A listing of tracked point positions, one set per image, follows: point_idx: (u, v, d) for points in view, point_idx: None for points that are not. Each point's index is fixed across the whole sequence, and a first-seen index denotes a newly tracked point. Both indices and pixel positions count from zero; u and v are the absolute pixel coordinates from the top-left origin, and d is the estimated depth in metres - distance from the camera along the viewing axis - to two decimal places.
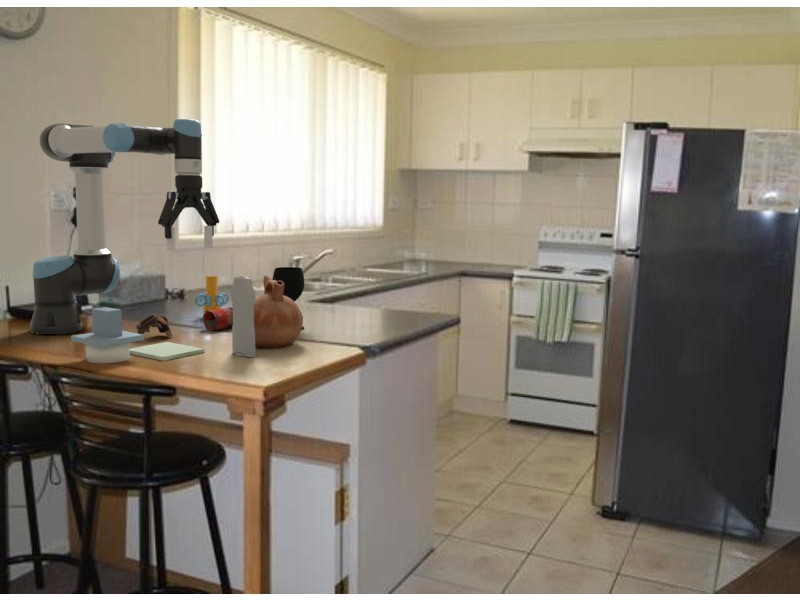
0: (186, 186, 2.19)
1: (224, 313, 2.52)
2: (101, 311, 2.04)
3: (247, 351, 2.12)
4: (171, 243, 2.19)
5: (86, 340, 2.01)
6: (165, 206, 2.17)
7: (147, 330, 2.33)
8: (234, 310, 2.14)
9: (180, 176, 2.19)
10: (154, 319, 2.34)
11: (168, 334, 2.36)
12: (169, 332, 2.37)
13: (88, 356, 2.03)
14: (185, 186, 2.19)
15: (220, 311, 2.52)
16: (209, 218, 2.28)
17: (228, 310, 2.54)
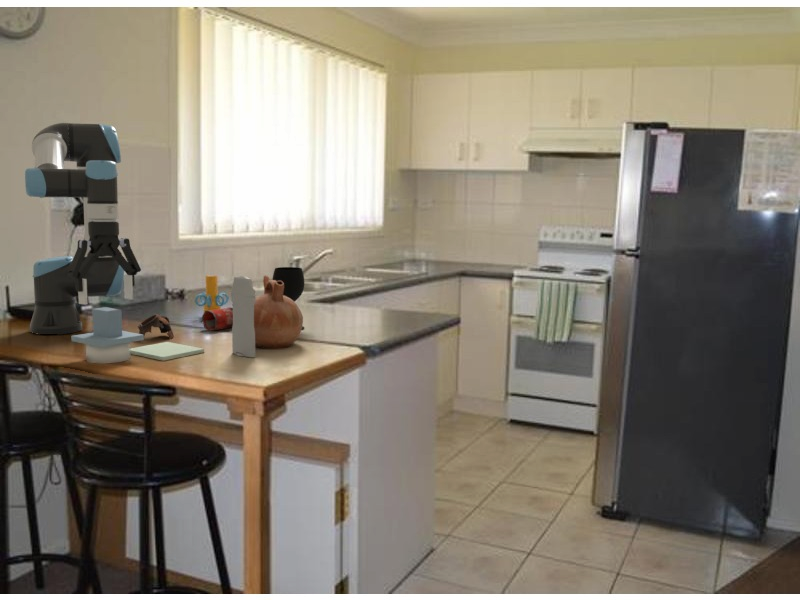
0: (99, 234, 1.99)
1: (224, 313, 2.52)
2: (101, 311, 2.04)
3: (247, 351, 2.12)
4: (83, 296, 1.99)
5: (86, 340, 2.01)
6: (75, 256, 1.97)
7: (149, 330, 2.32)
8: (234, 310, 2.14)
9: (93, 223, 1.99)
10: (156, 319, 2.34)
11: (170, 334, 2.36)
12: (171, 332, 2.37)
13: (88, 356, 2.03)
14: (98, 234, 1.99)
15: (219, 311, 2.52)
16: (128, 267, 2.08)
17: (227, 310, 2.54)
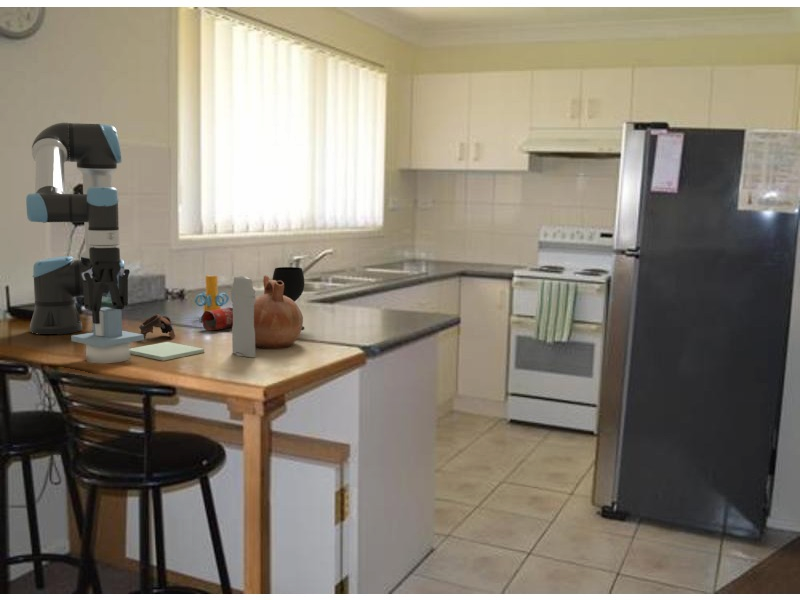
0: (100, 260, 2.00)
1: (223, 313, 2.52)
2: None
3: (247, 351, 2.12)
4: (99, 328, 2.04)
5: (86, 340, 2.01)
6: (84, 289, 2.00)
7: (150, 330, 2.32)
8: (234, 310, 2.14)
9: (94, 249, 2.00)
10: (157, 319, 2.34)
11: (171, 334, 2.36)
12: (172, 332, 2.36)
13: (88, 356, 2.03)
14: (99, 260, 2.00)
15: (219, 311, 2.52)
16: (118, 299, 2.07)
17: (227, 310, 2.54)
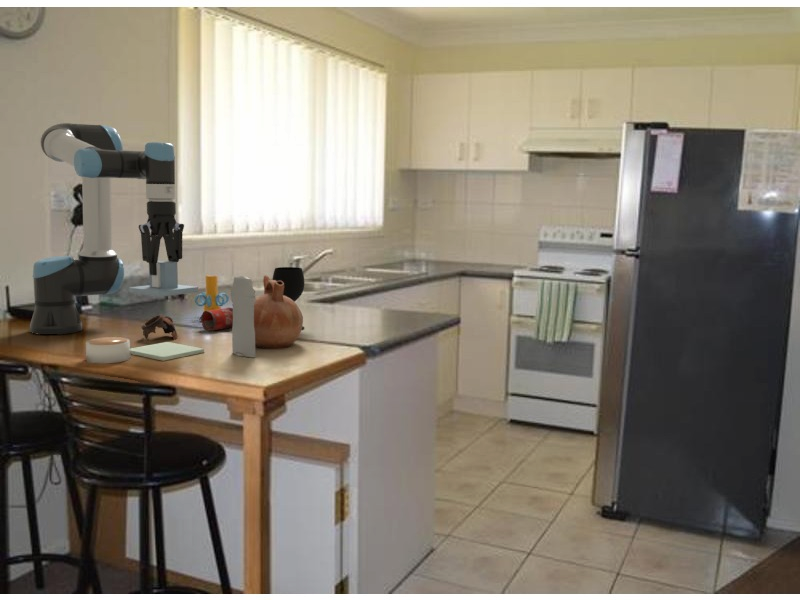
0: (158, 213, 2.07)
1: (222, 313, 2.52)
2: None
3: (247, 351, 2.12)
4: (156, 280, 2.11)
5: (144, 290, 2.08)
6: (143, 241, 2.08)
7: (153, 331, 2.32)
8: (234, 310, 2.14)
9: (152, 202, 2.07)
10: (160, 320, 2.33)
11: (174, 335, 2.35)
12: (175, 333, 2.36)
13: (88, 356, 2.03)
14: (157, 213, 2.07)
15: (218, 311, 2.51)
16: (173, 252, 2.14)
17: (226, 310, 2.54)
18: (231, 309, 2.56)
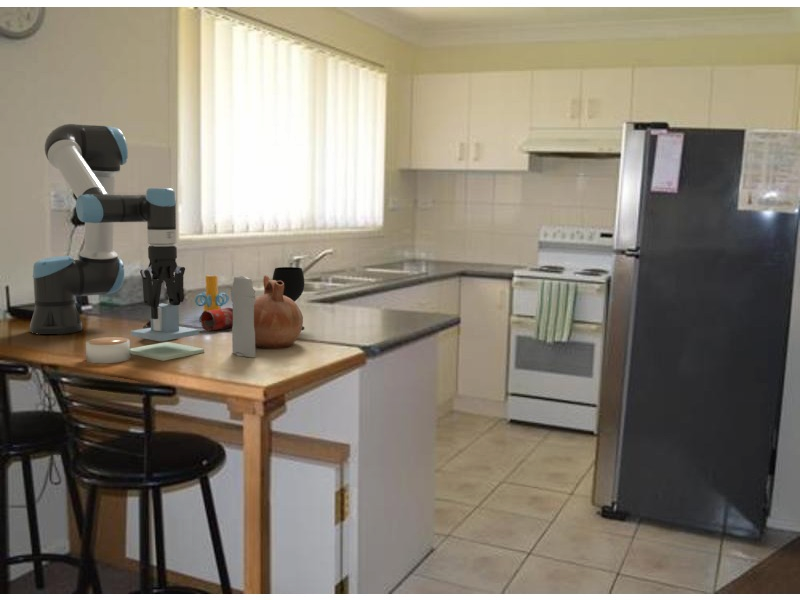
0: (159, 258, 2.09)
1: (222, 313, 2.51)
2: None
3: (247, 351, 2.12)
4: (157, 323, 2.13)
5: (146, 335, 2.10)
6: (144, 286, 2.09)
7: None
8: (234, 310, 2.14)
9: (153, 247, 2.09)
10: None
11: None
12: None
13: (88, 356, 2.03)
14: (158, 258, 2.09)
15: (218, 311, 2.51)
16: (174, 295, 2.16)
17: (226, 310, 2.54)
18: (230, 309, 2.55)
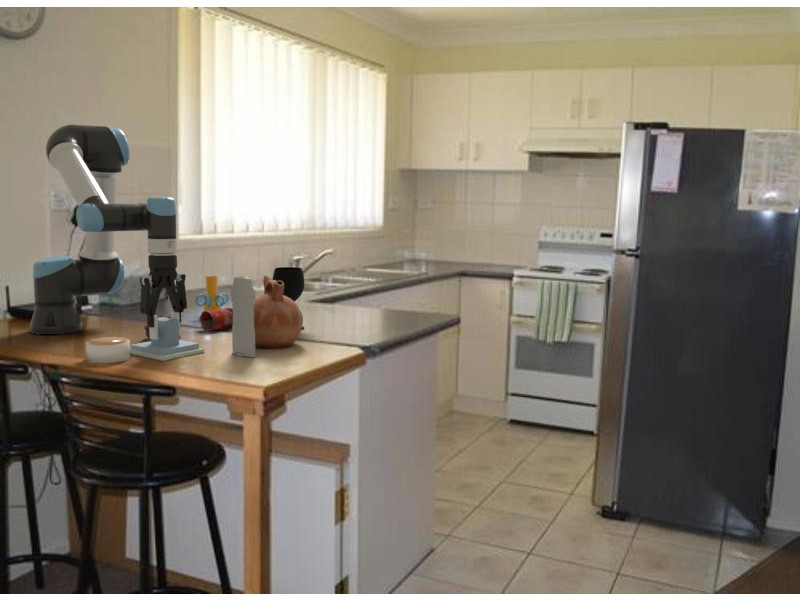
0: (159, 267, 2.09)
1: (222, 313, 2.51)
2: (159, 321, 2.13)
3: (247, 351, 2.12)
4: (154, 332, 2.12)
5: (146, 349, 2.11)
6: (142, 294, 2.09)
7: None
8: (234, 310, 2.14)
9: (153, 257, 2.09)
10: None
11: None
12: None
13: (88, 356, 2.03)
14: (158, 267, 2.09)
15: (217, 311, 2.51)
16: (178, 303, 2.17)
17: (225, 310, 2.53)
18: (230, 309, 2.55)
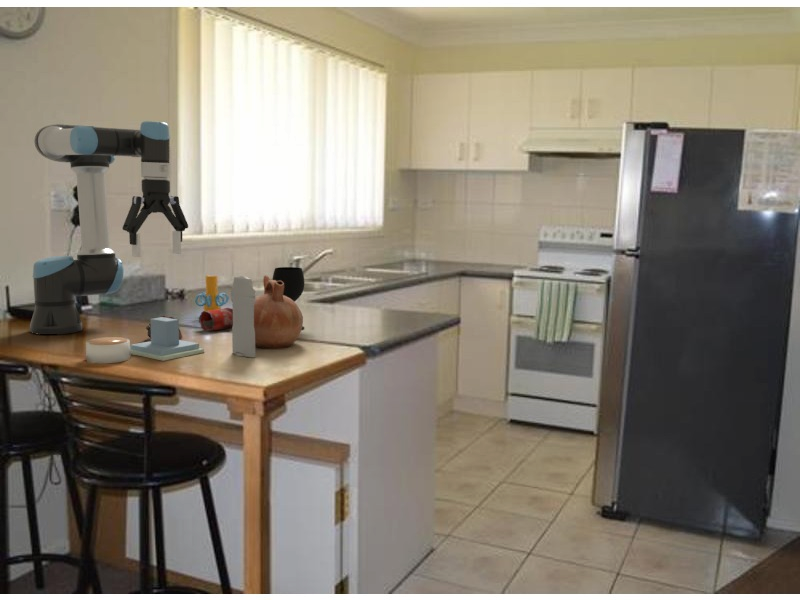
0: (152, 191, 2.12)
1: (221, 313, 2.51)
2: (159, 321, 2.13)
3: (247, 351, 2.12)
4: (136, 249, 2.12)
5: (146, 349, 2.11)
6: (130, 211, 2.10)
7: None
8: (234, 310, 2.14)
9: (146, 180, 2.12)
10: None
11: (179, 335, 2.35)
12: (179, 333, 2.36)
13: (88, 356, 2.03)
14: (151, 191, 2.12)
15: (217, 312, 2.51)
16: (177, 223, 2.22)
17: (225, 311, 2.53)
18: (230, 309, 2.55)
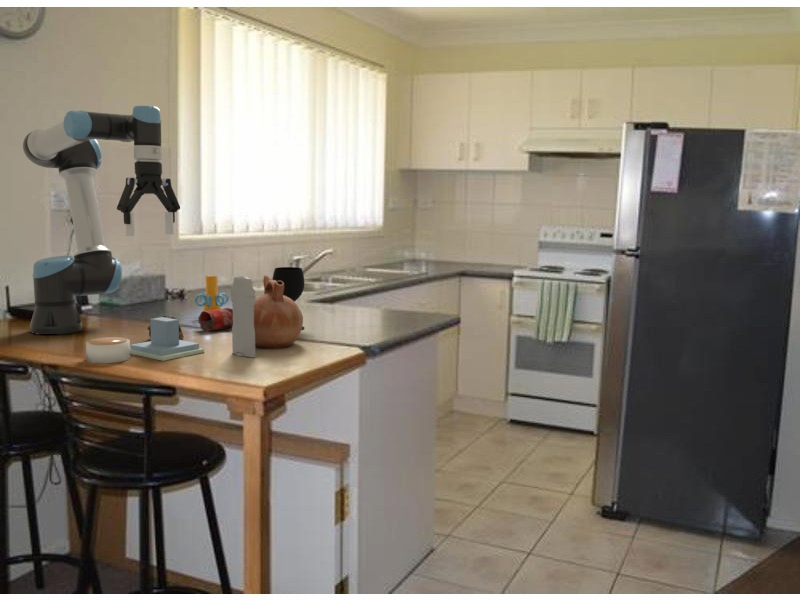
0: (145, 172, 2.20)
1: (221, 313, 2.51)
2: (159, 321, 2.13)
3: (247, 351, 2.12)
4: (130, 229, 2.20)
5: (146, 349, 2.11)
6: (124, 192, 2.19)
7: None
8: (234, 310, 2.14)
9: (139, 162, 2.20)
10: None
11: (180, 335, 2.35)
12: (181, 333, 2.35)
13: (88, 356, 2.03)
14: (144, 172, 2.20)
15: (216, 312, 2.51)
16: (170, 204, 2.30)
17: (224, 311, 2.53)
18: (229, 309, 2.55)
